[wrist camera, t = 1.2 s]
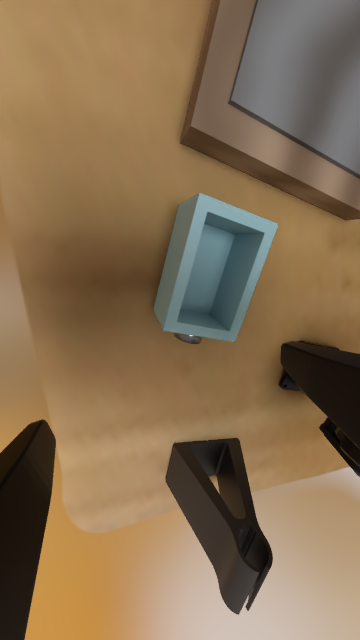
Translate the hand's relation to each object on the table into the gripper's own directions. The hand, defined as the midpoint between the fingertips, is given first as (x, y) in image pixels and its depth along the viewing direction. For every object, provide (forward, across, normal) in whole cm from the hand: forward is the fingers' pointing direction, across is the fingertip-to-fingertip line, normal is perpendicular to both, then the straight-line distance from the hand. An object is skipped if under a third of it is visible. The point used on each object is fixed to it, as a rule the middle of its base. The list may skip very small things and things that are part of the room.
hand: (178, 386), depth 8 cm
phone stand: (+12, -3, +23) cm, 26 cm away
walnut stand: (+12, -17, -14) cm, 25 cm away
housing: (+12, -6, -2) cm, 14 cm away
